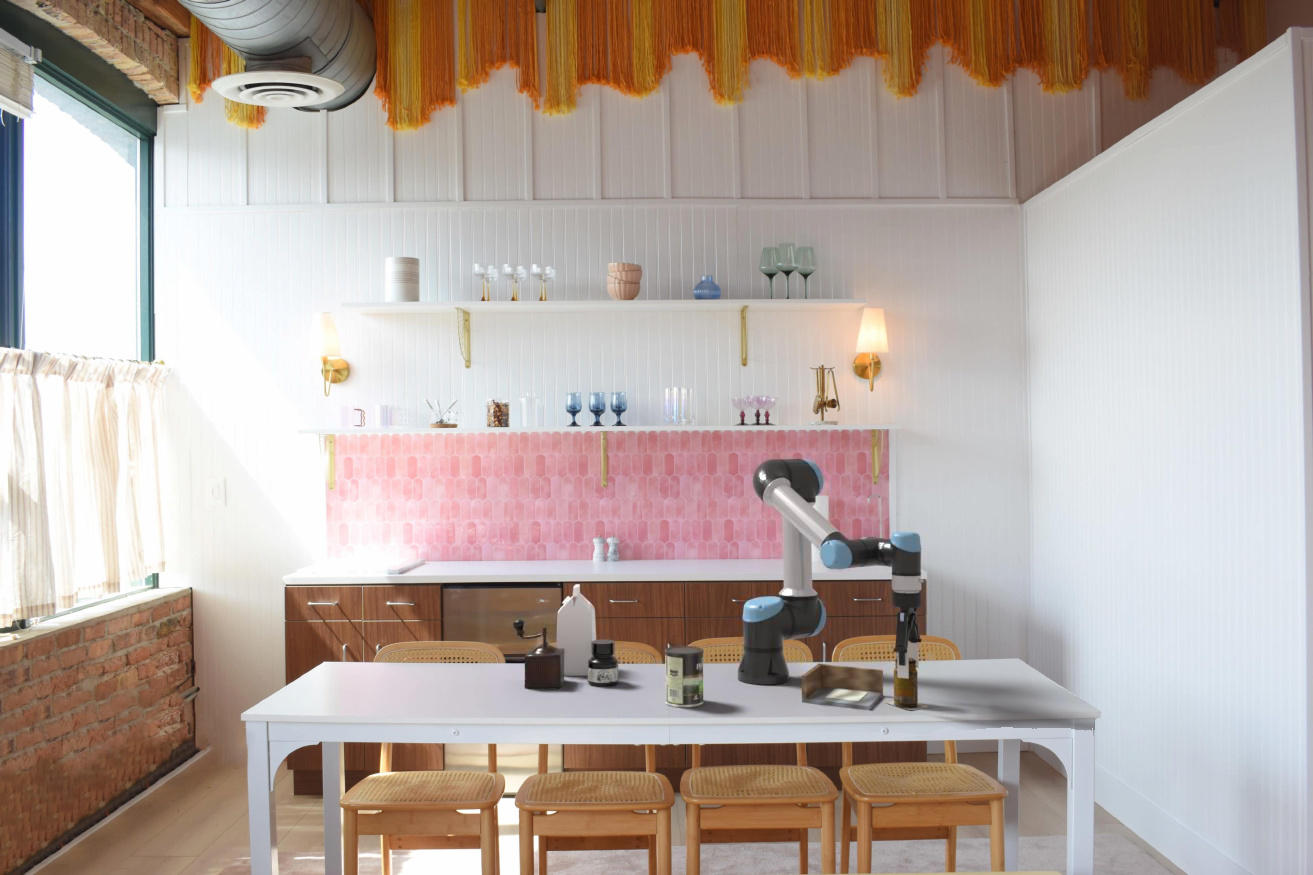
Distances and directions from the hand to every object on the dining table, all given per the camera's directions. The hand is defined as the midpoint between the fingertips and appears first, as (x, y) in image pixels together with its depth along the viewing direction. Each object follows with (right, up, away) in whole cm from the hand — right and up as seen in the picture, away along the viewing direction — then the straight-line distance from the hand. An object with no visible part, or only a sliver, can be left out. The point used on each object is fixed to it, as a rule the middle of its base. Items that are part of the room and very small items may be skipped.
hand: (908, 672), depth 241 cm
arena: (-16, -9, +7) cm, 19 cm away
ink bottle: (-82, -10, +25) cm, 86 cm away
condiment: (0, -9, 0) cm, 9 cm away
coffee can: (-59, -9, +3) cm, 59 cm away
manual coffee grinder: (-101, -10, +24) cm, 104 cm away
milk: (-91, -10, +40) cm, 100 cm away
